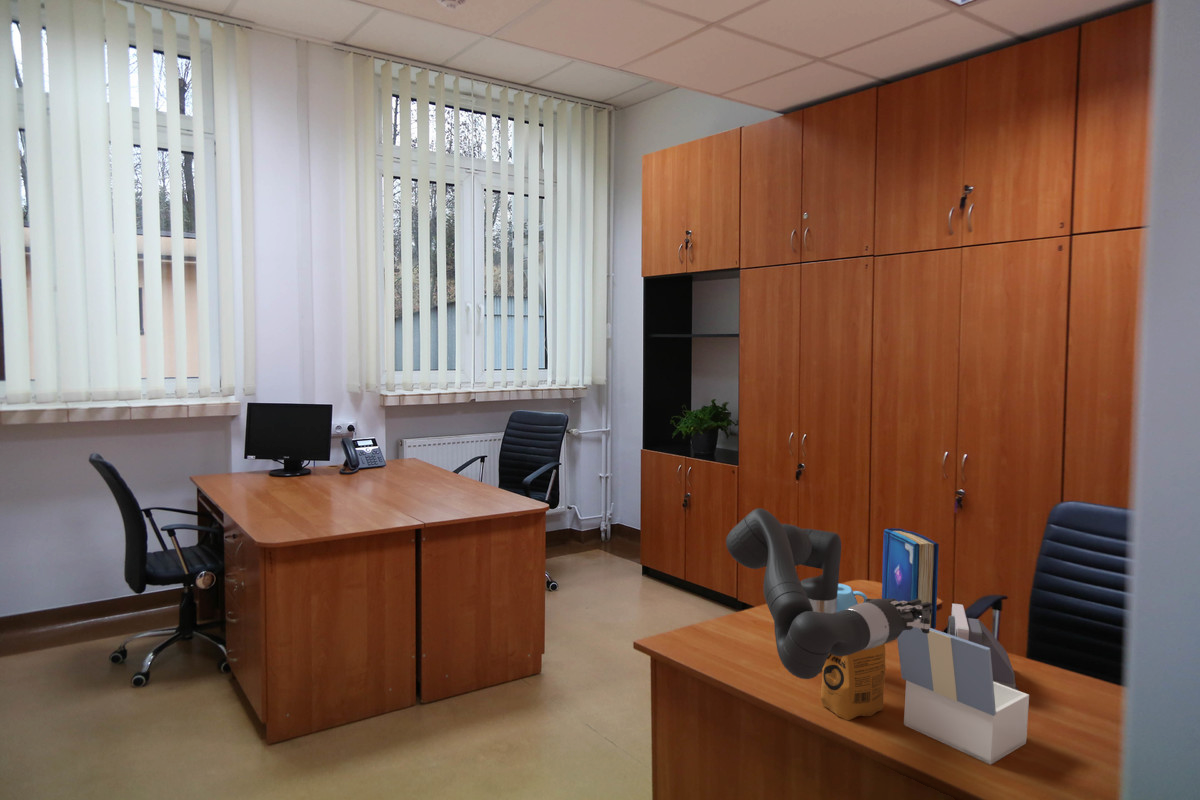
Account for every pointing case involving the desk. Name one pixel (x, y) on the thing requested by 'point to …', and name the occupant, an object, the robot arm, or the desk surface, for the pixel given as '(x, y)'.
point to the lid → (948, 667)
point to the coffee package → (854, 683)
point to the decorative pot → (847, 597)
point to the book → (910, 568)
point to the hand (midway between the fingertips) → (924, 606)
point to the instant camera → (981, 635)
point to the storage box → (970, 721)
